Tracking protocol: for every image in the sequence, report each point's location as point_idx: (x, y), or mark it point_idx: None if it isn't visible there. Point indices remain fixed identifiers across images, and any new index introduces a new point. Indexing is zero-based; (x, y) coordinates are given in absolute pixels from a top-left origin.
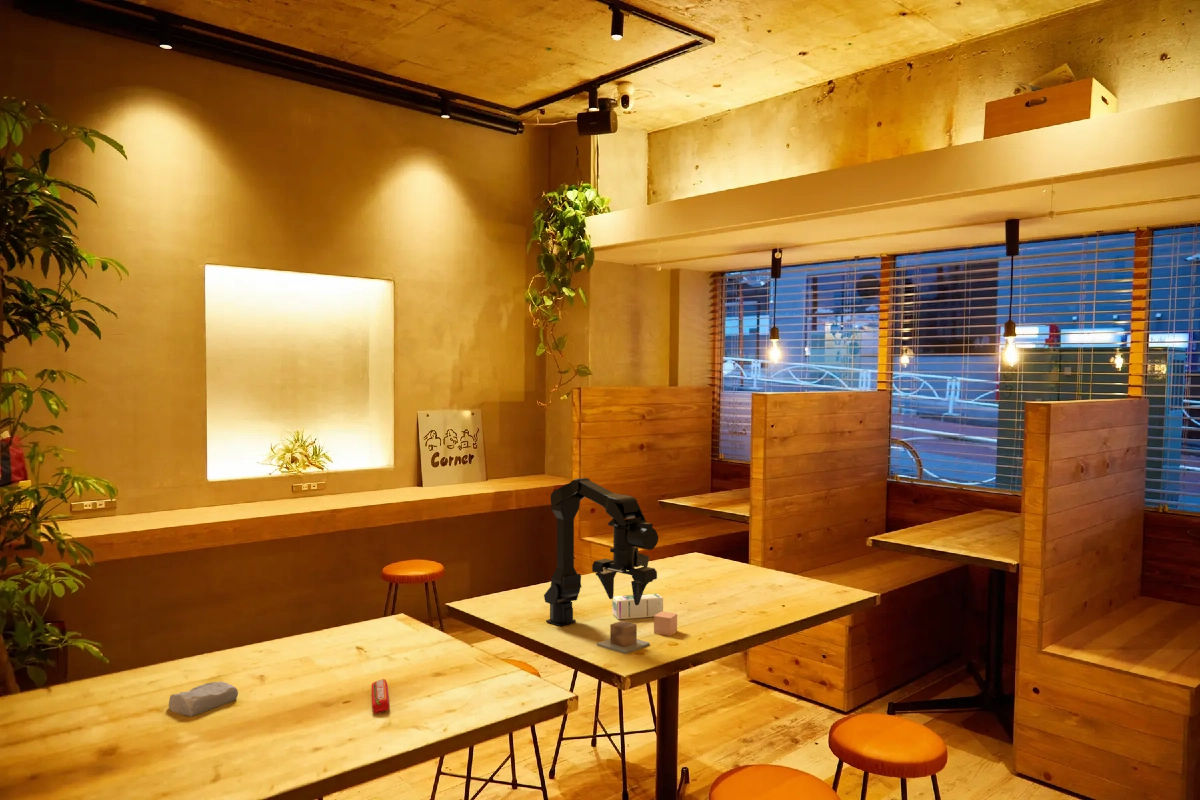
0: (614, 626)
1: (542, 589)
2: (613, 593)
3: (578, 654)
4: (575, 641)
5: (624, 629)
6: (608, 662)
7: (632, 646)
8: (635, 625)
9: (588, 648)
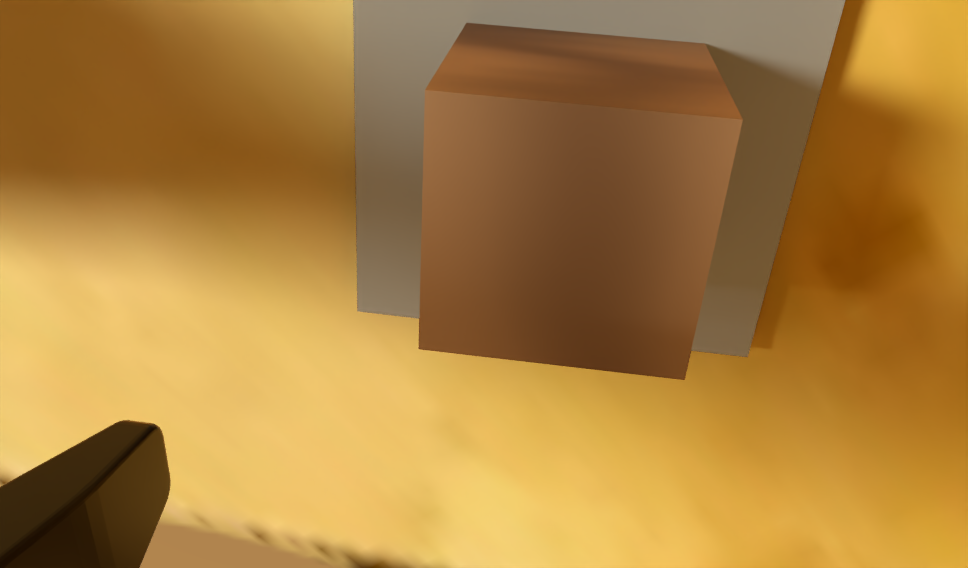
0: (495, 349)
1: None
2: (91, 492)
3: (406, 533)
4: (131, 318)
5: (682, 369)
6: (721, 555)
7: (731, 186)
8: (734, 144)
9: (362, 397)
